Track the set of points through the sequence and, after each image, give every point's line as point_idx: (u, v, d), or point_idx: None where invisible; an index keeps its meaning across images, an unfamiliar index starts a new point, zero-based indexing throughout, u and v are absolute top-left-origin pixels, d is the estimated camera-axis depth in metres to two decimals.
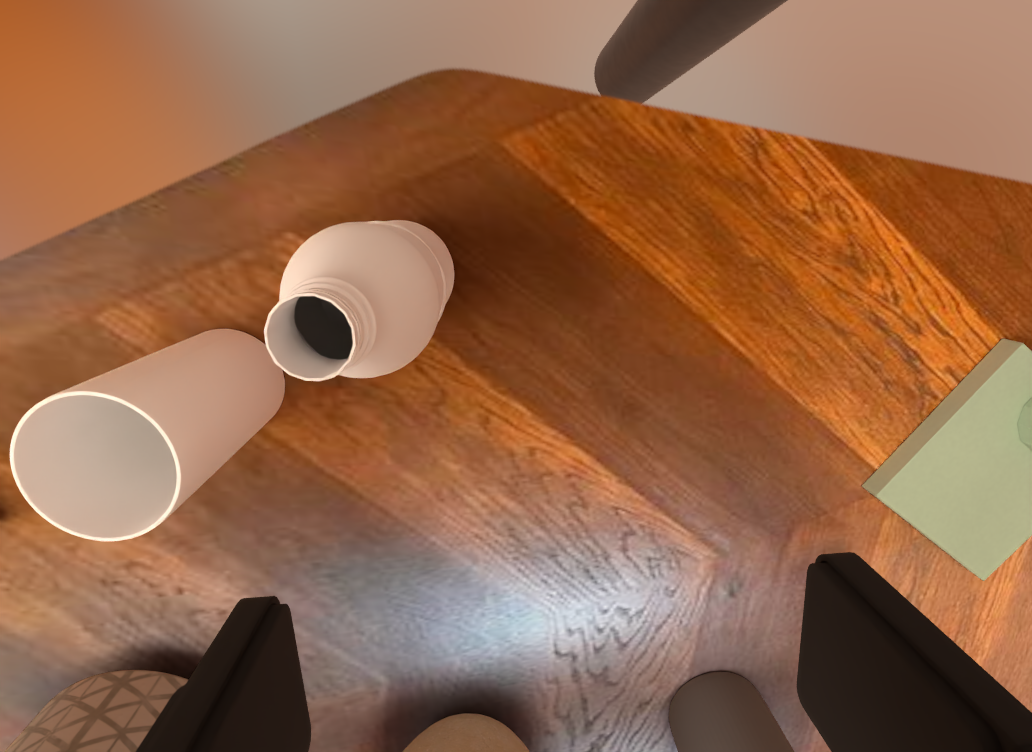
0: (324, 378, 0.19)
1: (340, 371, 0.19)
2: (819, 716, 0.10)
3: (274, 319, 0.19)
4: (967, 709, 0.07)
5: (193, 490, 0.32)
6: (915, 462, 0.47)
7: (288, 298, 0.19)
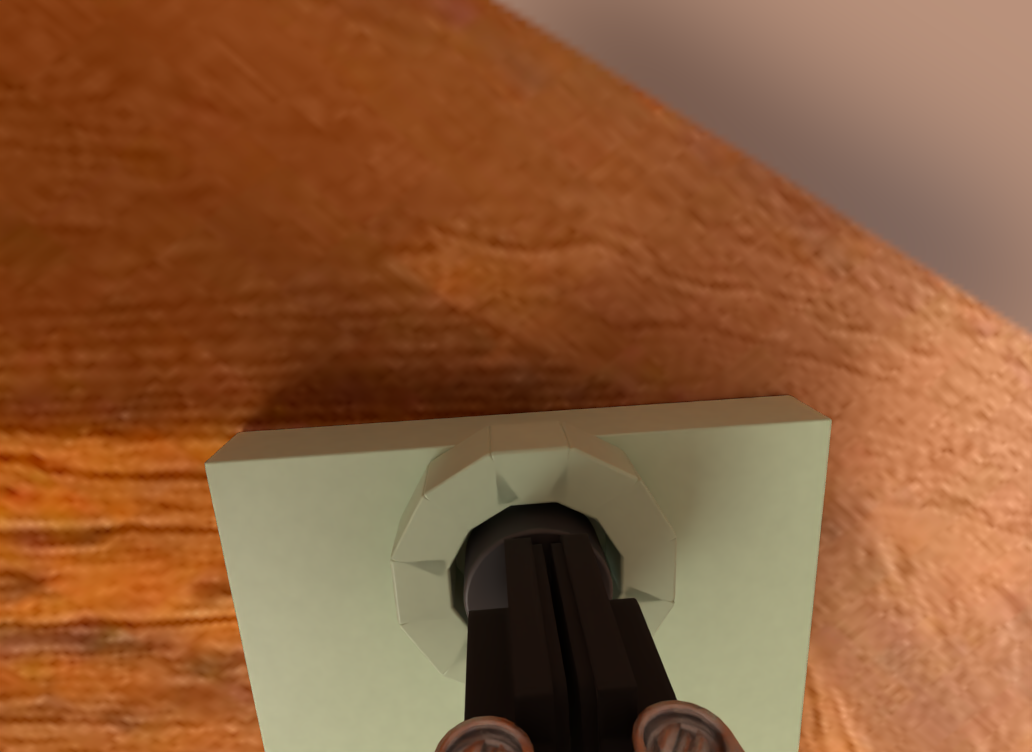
0: None
1: None
2: None
3: None
4: (585, 662, 0.08)
5: None
6: None
7: None
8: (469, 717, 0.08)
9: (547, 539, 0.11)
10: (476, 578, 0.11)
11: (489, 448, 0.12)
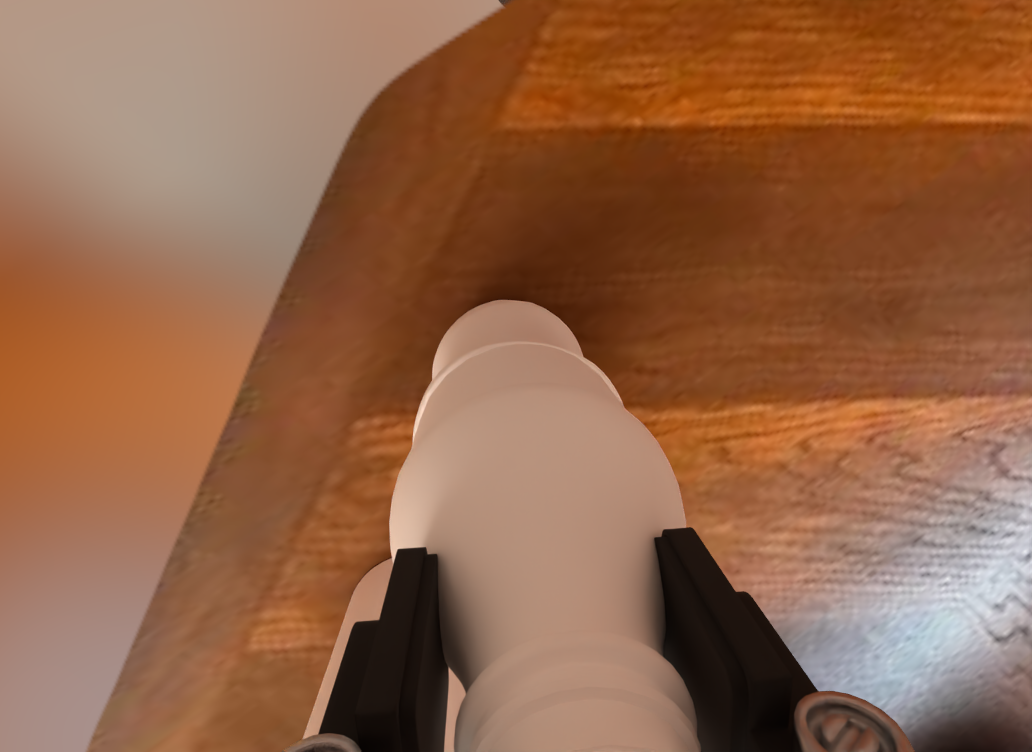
0: None
1: None
2: None
3: None
4: (729, 654, 0.08)
5: None
6: None
7: None
8: (322, 733, 0.08)
9: None
10: None
11: None
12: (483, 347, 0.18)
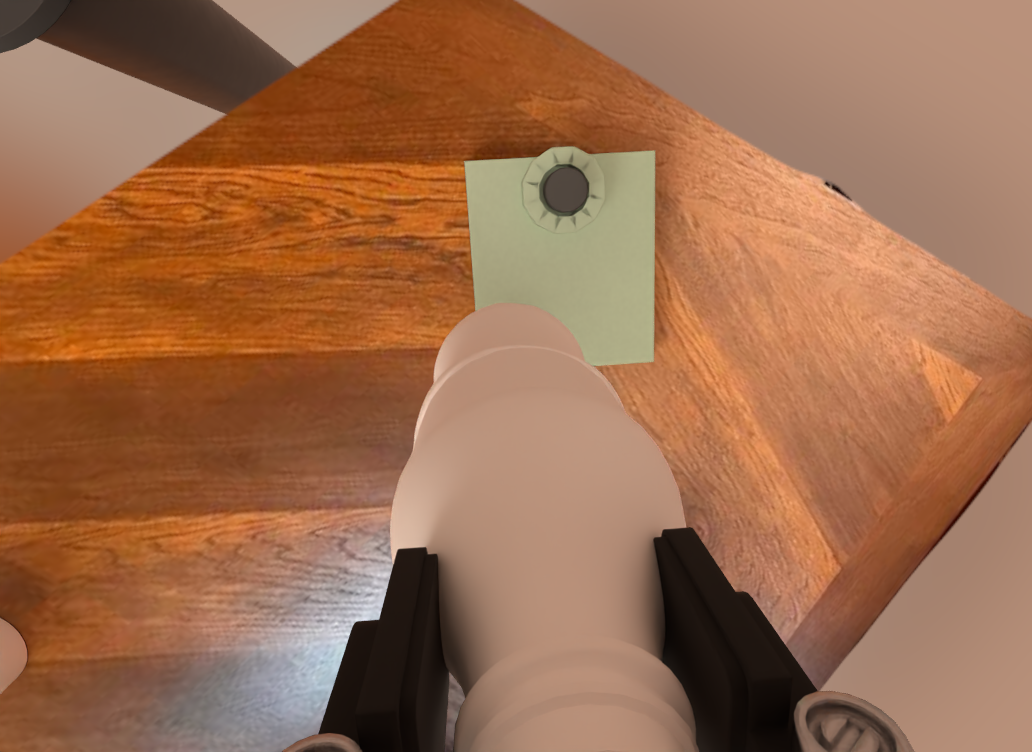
0: None
1: None
2: None
3: None
4: (729, 654, 0.08)
5: None
6: None
7: None
8: (323, 733, 0.08)
9: (569, 170, 0.40)
10: (549, 182, 0.40)
11: (551, 148, 0.41)
12: (484, 350, 0.18)
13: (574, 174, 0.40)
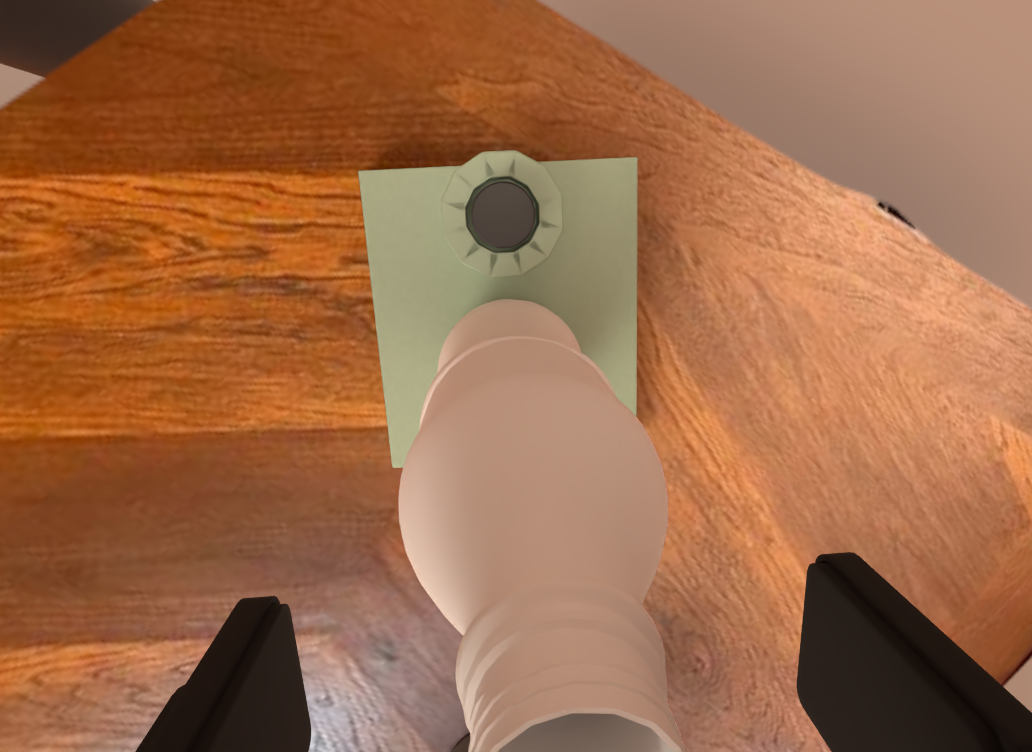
0: None
1: None
2: (819, 716, 0.10)
3: None
4: (967, 709, 0.07)
5: None
6: (393, 399, 0.32)
7: None
8: None
9: (506, 186, 0.27)
10: (476, 204, 0.27)
11: None
12: (485, 341, 0.20)
13: (514, 192, 0.27)
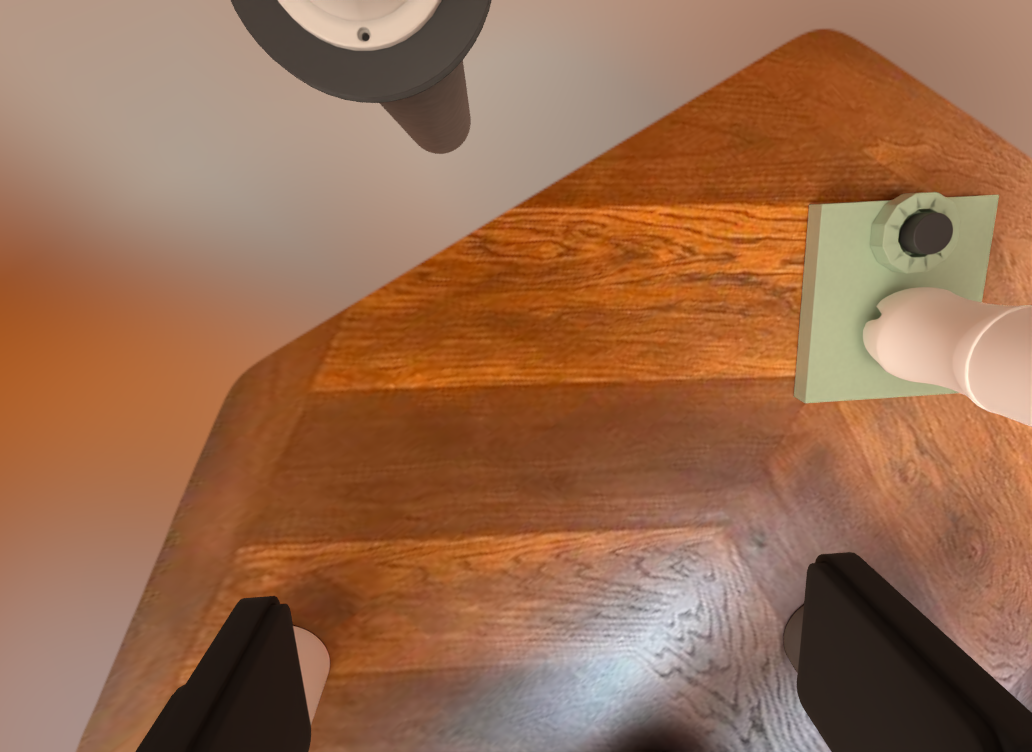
0: None
1: None
2: (819, 716, 0.10)
3: None
4: (967, 709, 0.07)
5: None
6: (815, 355, 0.48)
7: None
8: None
9: (938, 215, 0.42)
10: (918, 227, 0.43)
11: (914, 193, 0.43)
12: (1014, 308, 0.35)
13: (943, 219, 0.43)
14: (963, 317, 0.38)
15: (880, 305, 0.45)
